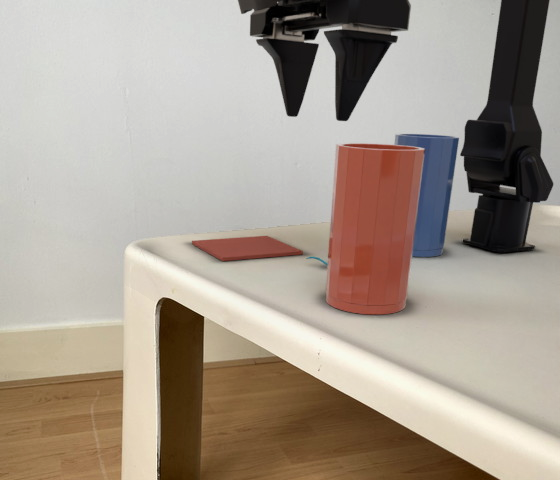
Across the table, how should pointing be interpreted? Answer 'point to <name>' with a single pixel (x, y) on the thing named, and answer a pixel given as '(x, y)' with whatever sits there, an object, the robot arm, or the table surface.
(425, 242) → the blue cup
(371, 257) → the red cup
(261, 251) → the red mat
